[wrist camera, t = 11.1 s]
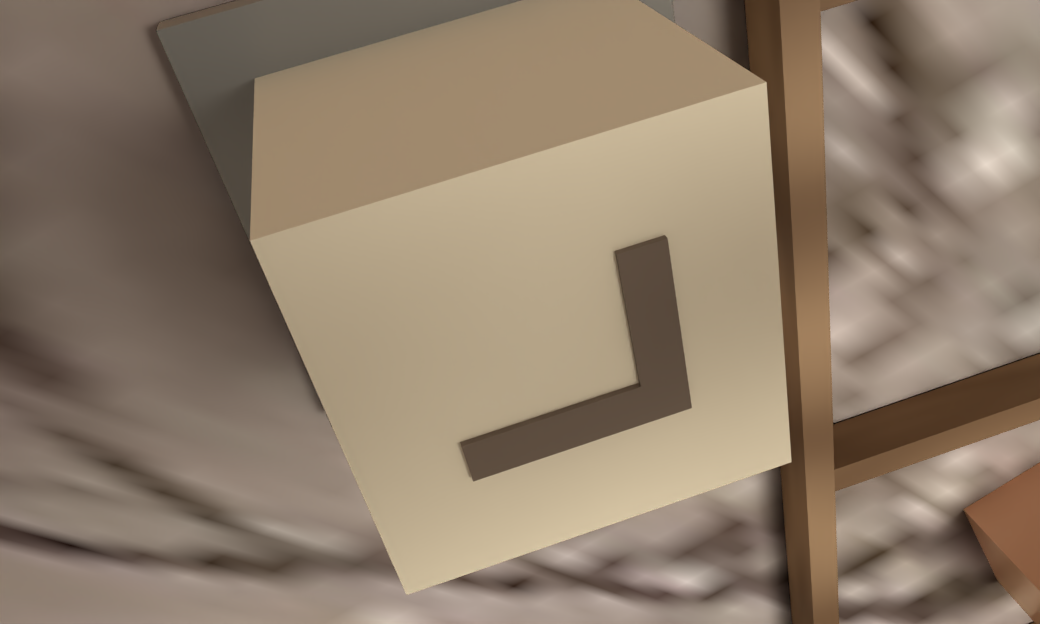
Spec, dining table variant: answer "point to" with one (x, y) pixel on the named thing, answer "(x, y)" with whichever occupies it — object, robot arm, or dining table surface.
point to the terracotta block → (1013, 537)
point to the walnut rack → (806, 328)
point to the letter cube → (527, 272)
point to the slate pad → (282, 60)
